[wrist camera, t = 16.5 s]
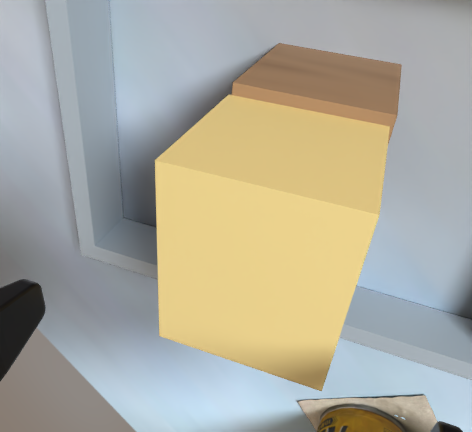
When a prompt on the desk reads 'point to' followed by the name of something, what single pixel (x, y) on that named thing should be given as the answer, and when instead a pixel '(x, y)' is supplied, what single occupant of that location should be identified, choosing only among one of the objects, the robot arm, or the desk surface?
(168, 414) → the desk surface
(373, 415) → the condiment
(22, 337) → the robot arm
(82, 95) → the gray tray
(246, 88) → the walnut block
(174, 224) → the mustard box
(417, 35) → the desk surface
